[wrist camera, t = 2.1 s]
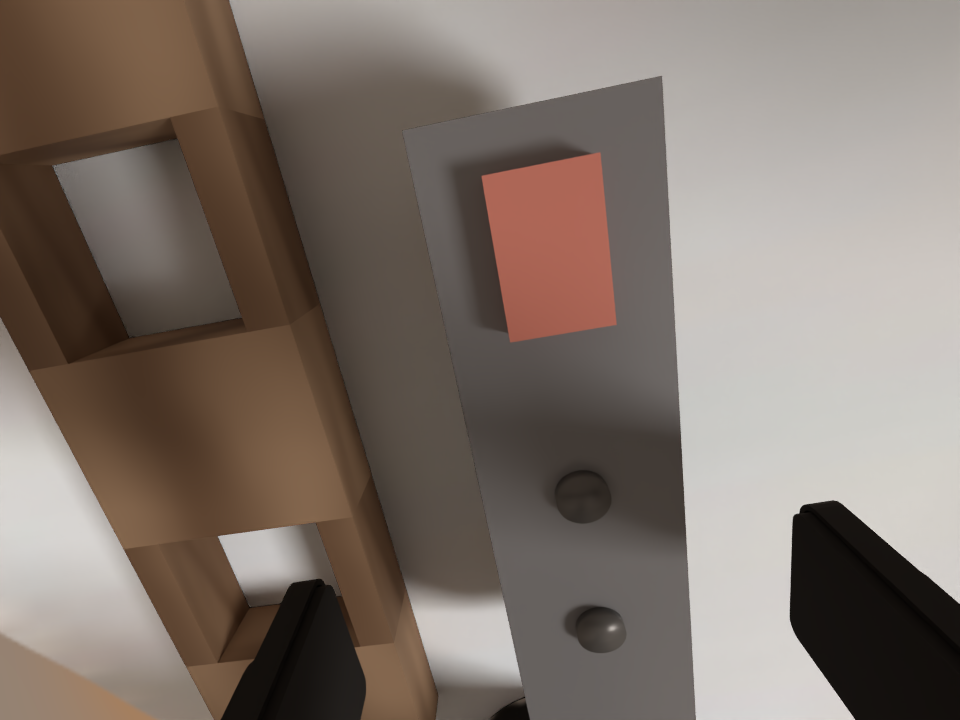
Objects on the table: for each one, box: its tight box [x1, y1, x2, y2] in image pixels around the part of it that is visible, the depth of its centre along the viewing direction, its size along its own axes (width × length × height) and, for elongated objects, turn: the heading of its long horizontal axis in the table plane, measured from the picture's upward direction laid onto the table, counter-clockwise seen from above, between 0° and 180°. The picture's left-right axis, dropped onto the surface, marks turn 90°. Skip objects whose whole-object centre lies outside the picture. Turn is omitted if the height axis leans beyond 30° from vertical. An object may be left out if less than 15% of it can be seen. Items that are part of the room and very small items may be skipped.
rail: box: [0, 0, 438, 720], centre depth 16 cm, size 8×30×2 cm, turn 10°
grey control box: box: [402, 76, 696, 720], centre depth 14 cm, size 4×18×7 cm, turn 11°
